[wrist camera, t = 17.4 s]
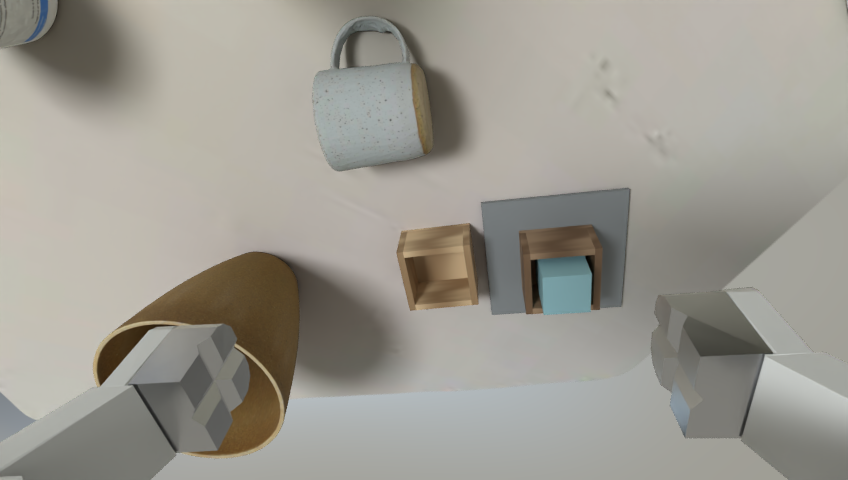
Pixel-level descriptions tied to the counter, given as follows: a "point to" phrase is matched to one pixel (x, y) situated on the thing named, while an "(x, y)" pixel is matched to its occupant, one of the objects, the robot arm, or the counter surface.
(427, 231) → the light wooden open box
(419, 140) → the ceramic mug
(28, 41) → the supplement tub
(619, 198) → the slate mat
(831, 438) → the robot arm
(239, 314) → the plant pot
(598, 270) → the brown wooden square tray
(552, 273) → the light blue block
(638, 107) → the counter surface
